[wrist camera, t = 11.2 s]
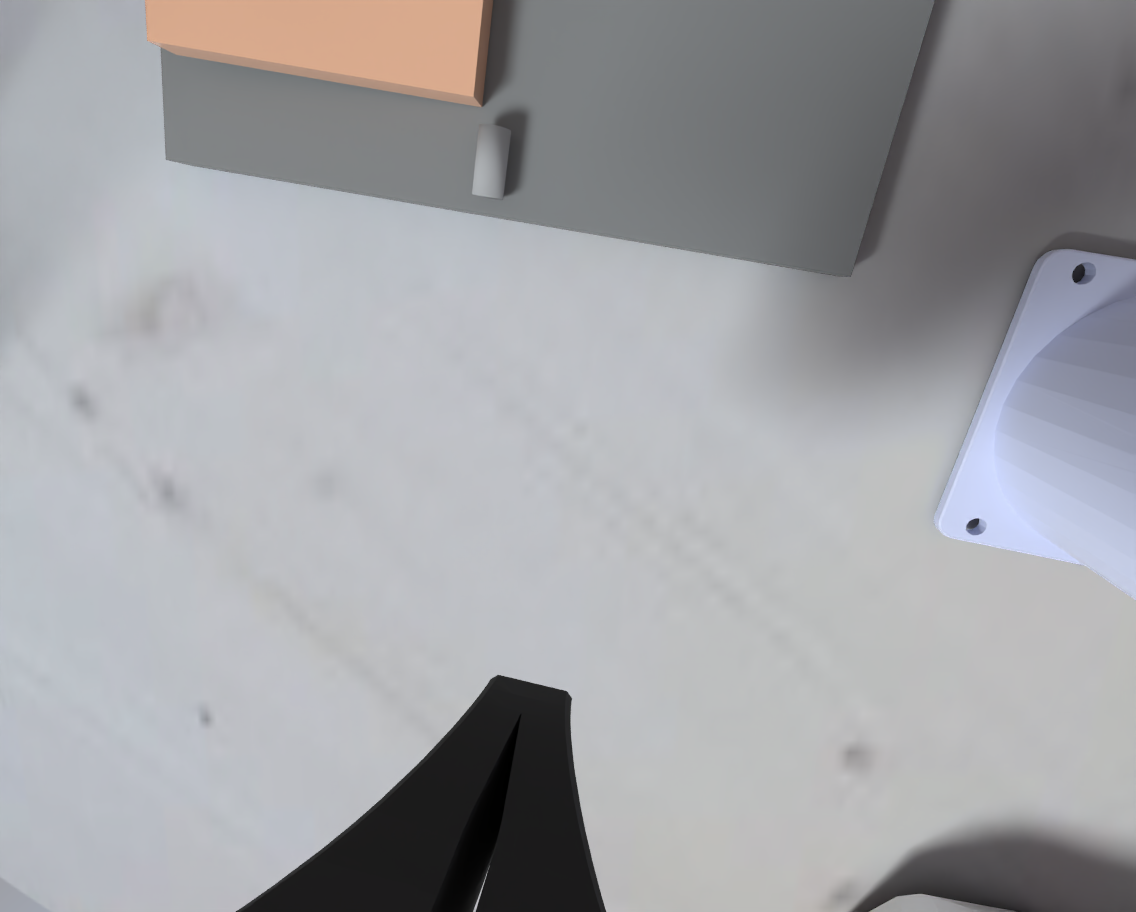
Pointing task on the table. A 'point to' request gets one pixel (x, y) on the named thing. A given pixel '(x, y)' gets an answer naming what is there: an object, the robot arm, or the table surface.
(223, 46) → the tile
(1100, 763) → the table surface
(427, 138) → the mat
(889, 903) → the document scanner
